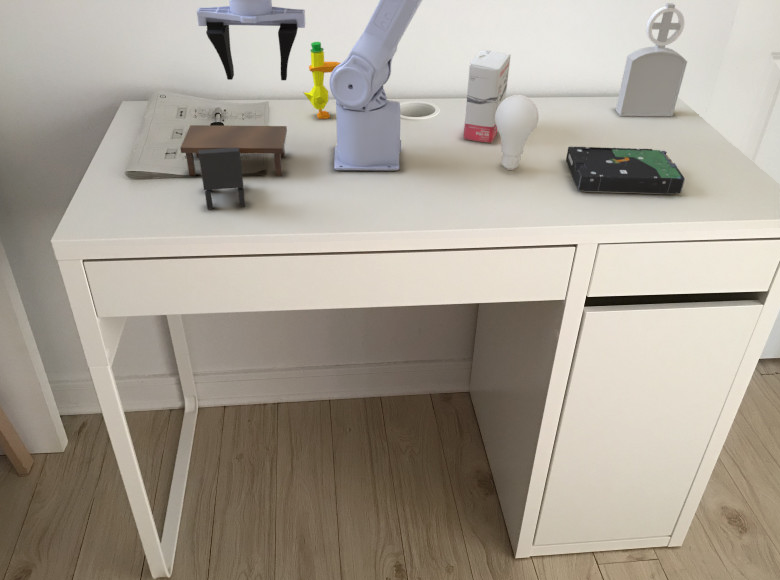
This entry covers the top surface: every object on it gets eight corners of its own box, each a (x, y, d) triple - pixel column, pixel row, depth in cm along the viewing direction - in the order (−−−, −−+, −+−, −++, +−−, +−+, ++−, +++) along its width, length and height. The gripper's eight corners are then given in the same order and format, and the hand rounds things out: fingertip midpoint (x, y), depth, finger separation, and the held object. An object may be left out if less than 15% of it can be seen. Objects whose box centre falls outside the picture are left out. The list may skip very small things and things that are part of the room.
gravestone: (615, 110, 128) (639, 1, 117) (666, 110, 128) (695, 2, 117) (620, 116, 126) (644, 5, 114) (672, 116, 126) (702, 6, 115)
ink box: (491, 144, 114) (500, 68, 107) (461, 139, 115) (468, 64, 108) (503, 125, 121) (512, 52, 113) (474, 120, 122) (481, 48, 114)
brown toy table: (288, 154, 109) (286, 125, 106) (284, 177, 103) (282, 148, 100) (194, 153, 108) (190, 125, 105) (185, 177, 102) (180, 147, 99)
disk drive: (577, 194, 102) (681, 195, 102) (581, 176, 100) (687, 177, 100) (564, 163, 110) (660, 164, 110) (567, 145, 108) (665, 147, 108)
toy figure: (342, 111, 123) (340, 38, 116) (346, 119, 120) (345, 44, 113) (302, 114, 122) (298, 40, 114) (306, 122, 119) (302, 47, 112)
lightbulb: (506, 157, 111) (515, 85, 104) (538, 170, 107) (550, 97, 100) (480, 168, 107) (488, 95, 100) (512, 182, 104) (523, 107, 97)
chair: (243, 187, 100) (236, 131, 95) (245, 208, 95) (239, 151, 90) (206, 189, 99) (197, 134, 94) (207, 211, 94) (198, 153, 89)
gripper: (187, -20, 93) (202, 86, 101) (301, -17, 94) (306, 87, 102) (196, -31, 98) (210, 70, 107) (303, -29, 99) (308, 71, 107)
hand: (257, 77), depth 105 cm, fingers open, 7 cm apart
